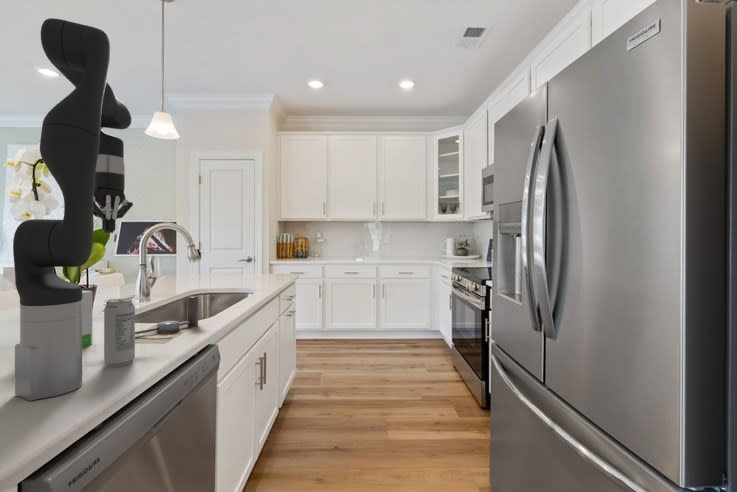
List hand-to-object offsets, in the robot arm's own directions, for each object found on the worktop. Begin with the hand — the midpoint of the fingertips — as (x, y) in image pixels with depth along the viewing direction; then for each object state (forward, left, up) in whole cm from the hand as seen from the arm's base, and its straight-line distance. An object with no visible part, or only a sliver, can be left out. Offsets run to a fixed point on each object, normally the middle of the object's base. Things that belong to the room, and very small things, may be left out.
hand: (108, 232), depth 107 cm
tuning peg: (+11, -11, -30) cm, 34 cm away
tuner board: (+9, -11, -31) cm, 34 cm away
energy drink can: (-11, -24, -31) cm, 41 cm away
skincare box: (-12, -4, -31) cm, 34 cm away
